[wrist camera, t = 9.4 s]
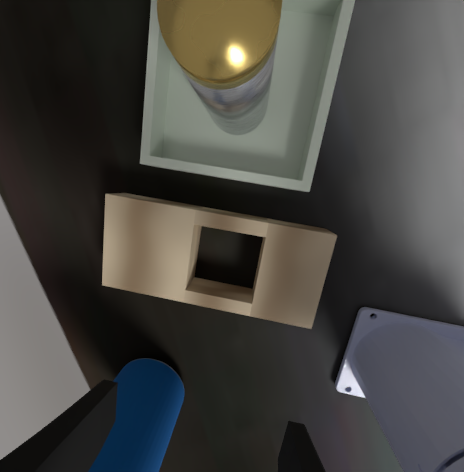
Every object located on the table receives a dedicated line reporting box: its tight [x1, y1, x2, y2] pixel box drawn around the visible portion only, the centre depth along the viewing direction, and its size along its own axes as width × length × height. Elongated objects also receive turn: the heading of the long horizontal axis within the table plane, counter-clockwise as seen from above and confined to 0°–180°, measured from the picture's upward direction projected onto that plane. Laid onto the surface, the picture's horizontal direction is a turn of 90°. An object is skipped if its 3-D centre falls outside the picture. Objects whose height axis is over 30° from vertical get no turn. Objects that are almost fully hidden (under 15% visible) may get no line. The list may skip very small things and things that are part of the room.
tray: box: [140, 0, 355, 192], centre depth 15 cm, size 11×11×3 cm
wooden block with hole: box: [102, 193, 337, 329], centre depth 17 cm, size 16×7×2 cm, turn 81°
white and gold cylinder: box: [157, 0, 282, 135], centre depth 11 cm, size 4×4×8 cm
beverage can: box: [88, 358, 184, 472], centre depth 16 cm, size 6×6×12 cm
